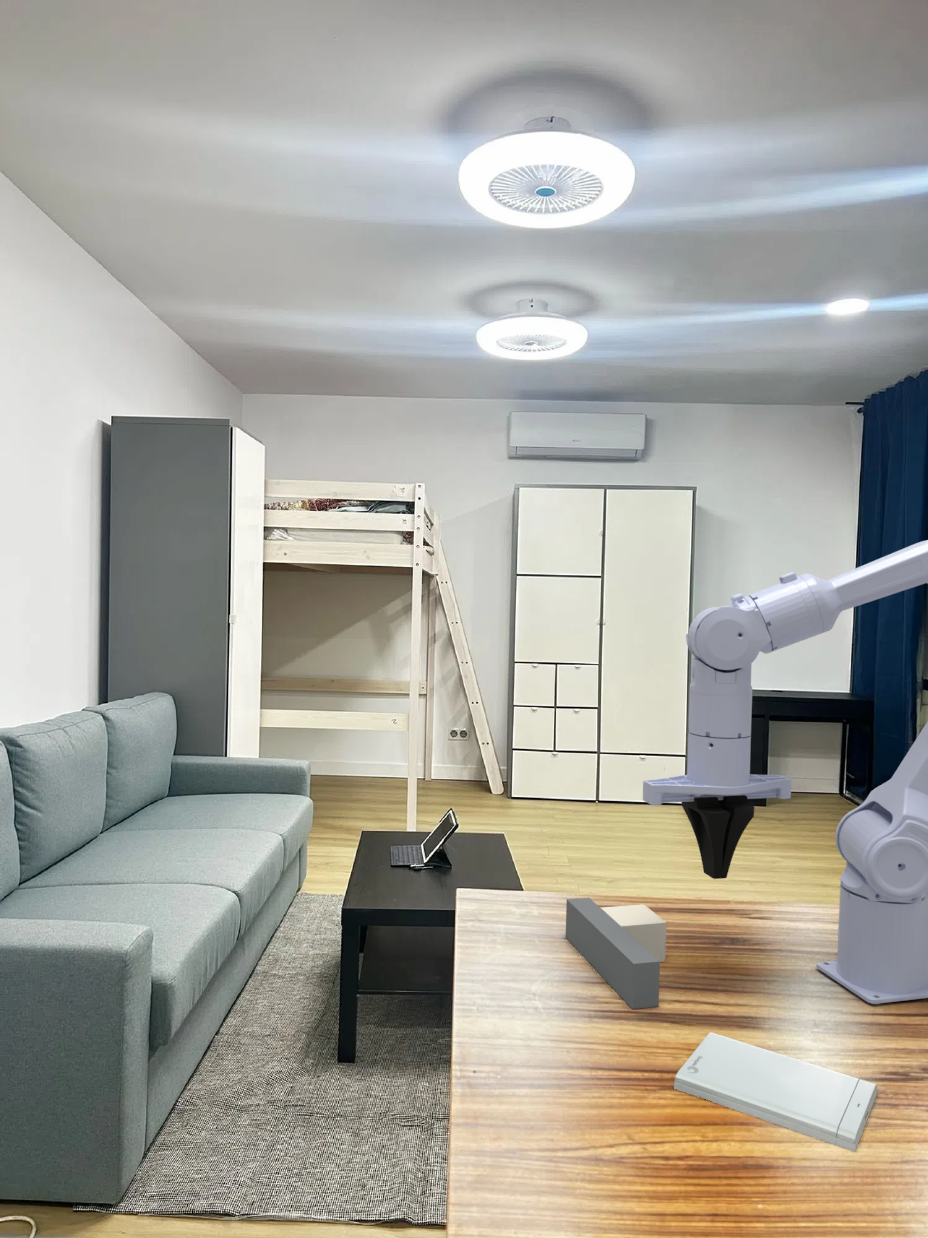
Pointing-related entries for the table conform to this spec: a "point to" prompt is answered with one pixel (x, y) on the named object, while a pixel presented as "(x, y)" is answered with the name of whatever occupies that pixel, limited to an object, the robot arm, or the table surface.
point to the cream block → (642, 927)
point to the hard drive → (779, 1089)
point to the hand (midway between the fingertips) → (715, 875)
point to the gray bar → (613, 953)
